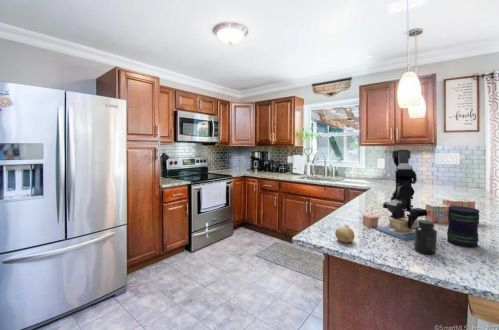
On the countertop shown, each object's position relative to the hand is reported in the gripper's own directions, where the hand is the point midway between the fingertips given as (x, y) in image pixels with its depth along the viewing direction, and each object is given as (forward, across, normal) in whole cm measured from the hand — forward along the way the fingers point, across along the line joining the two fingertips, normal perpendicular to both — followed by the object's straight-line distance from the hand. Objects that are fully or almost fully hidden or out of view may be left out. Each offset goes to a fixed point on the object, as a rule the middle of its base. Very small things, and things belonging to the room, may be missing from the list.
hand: (403, 226), depth 113 cm
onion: (+3, 0, -34) cm, 34 cm away
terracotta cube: (+3, -14, -6) cm, 15 cm away
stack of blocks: (+4, -5, +40) cm, 40 cm away
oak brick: (+1, 0, 0) cm, 1 cm away
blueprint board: (+3, 0, 0) cm, 3 cm away
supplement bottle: (+3, +19, -12) cm, 23 cm away
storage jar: (+3, +18, +11) cm, 21 cm away
